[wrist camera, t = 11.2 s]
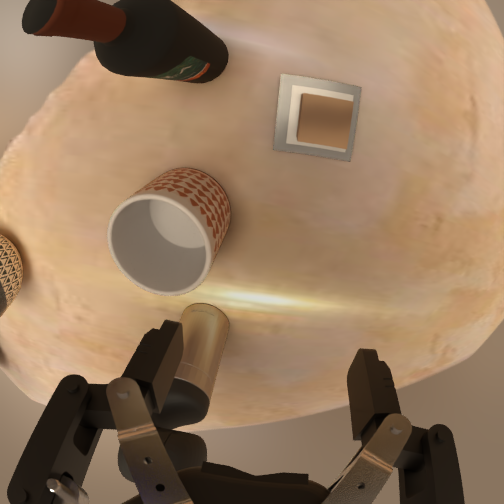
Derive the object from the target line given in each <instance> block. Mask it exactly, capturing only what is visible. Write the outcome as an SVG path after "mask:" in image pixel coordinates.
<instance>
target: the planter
mask: <svg viewBox="0 0 504 504" xmlns="http://www.w3.org/2000/svg"><path fill="white" fill-rule="evenodd" d="M22 279H23V266H22V261H21V257H20V255H19V252H18V250H17V249H16V247H15V246H14V244H13V243H12V242H11V241H10V240H9V239H7V238H6V237H4V236H2V235H0V317H1V316H2V315H3V313H4V312H5V311H6V310H7V308H8V307H9V306H10V305H11V304H12V302H13V301H14V299H15V298H16V296H17V294H18V292H19V290H20V288H21V284H22Z"/></svg>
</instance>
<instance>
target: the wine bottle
mask: <svg viewBox="0 0 504 504" xmlns="http://www.w3.org/2000/svg"><path fill="white" fill-rule="evenodd" d="M22 28H23V30H24V32H26V33H27V34H34V35H36V36H51V37H52V36H61V37H70V38H77V39H85V40H91V41H94V47H95V52H96V56H97V58H98V60H99V61H100V63H101V64H102V66H104V67H105V68H106V69H108V70H109V71H111V72H113V73H116V74H120V75H124V76H134V77H147V78H158V79H167V80H176V81H184V82H191V83H205V82H209V81H212V80H213V79H215V78H216V77H218V76H219V75H220V74H221V73H222V72H223V71H224V69H225V67H226V65H227V63H228V51H227V47H226V45H225V44H224V43H223V41H222V40H221V39H220V38H218V37H217V36H216V35H215V34H214V33H212V32H211V31H210V30H209V29H208V28H206V27H205V26H204V25H203V24H201V23H200V22H199V21H197V20H196V19H195V18H194V17H192V16H191V15H190V14H188V13H187V12H186V11H184V10H183V9H182V8H180V7H179V6H178V5H176V4H175V3H173V2H172V1H171V0H120V1H118V2H116V3H115V4H114V5H109V4H106V3H103V2H100V1H98V0H30V1H29V3H28V5H27V6H26V8H25V11H24V13H23V18H22Z"/></svg>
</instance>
